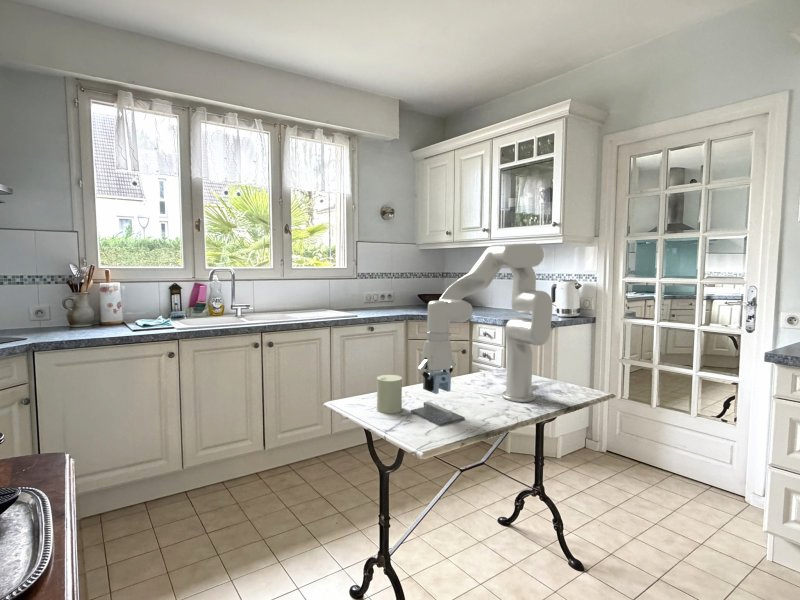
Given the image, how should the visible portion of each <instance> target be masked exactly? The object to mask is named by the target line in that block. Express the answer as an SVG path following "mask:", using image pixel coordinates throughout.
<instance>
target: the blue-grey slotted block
mask: <svg viewBox="0 0 800 600" xmlns="http://www.w3.org/2000/svg"><path fill="white" fill-rule="evenodd" d="M428 374H429V373H428ZM431 379H432V391H428V390H426V389H425V378H424V377H423V376H422V385H423V386H422V388H423V390H424V391H427V392H430V393H431V394H435V395H438V394H439V391H440V390H441V391H445V392H447V393H448V392H451V390H452V389H451V387H452V384H451V383H452V382H451V381H452V380H451V379H452V373H451V374H450V373H446V372H443V371H442V370H439V371H433V374H432V377H431Z"/></svg>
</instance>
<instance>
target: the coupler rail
mask: <svg viewBox="0 0 800 600" xmlns="http://www.w3.org/2000/svg"><path fill="white" fill-rule="evenodd" d="M410 413H411V414H414V415H416V416H418V417H420V418H422V419H424V420H426V421H428V422H429V423H432V424H435V425H436V426H438V427H441V426H445V425H449V424H452V423H456V422H461V421H465V420H466V419H465V418H466V417H465V416H463V415H460V414H458V413H456V412H453V411H452V410H449V409H447V408H445V407H442V406H440V405H437V404H435V403H433V402H431V401H425V402H423V407H419V408H415V409H414V408H413V409H411V410H410Z"/></svg>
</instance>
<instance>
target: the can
mask: <svg viewBox="0 0 800 600" xmlns="http://www.w3.org/2000/svg"><path fill="white" fill-rule="evenodd" d="M402 390H403V377H402V376H400V375H398V374H381V375H378V376H377V377H376V411H377V412H380V413H383V414H395V413H399V412H401V411H402V410H403V404H402V402H403V400H402V399H403V393H402V392H403V391H402Z"/></svg>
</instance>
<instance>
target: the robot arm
mask: <svg viewBox="0 0 800 600" xmlns="http://www.w3.org/2000/svg"><path fill="white" fill-rule="evenodd" d="M544 258H545V253H544V249H543V247H542V246H541V245H540V244H538V243H535V242H532V243H529V242H528V243H509V244H508V243H507V244H491V245H489V246H488V247H487V248H486V249H485V250H484V251H483V252H482V254H481V256H480V257H479V258H478V259H477V261H476V262H475V264H473V266H472V267H471V269H470V270H469V272H467V273H466V274H464V275H463V276H462V277H460V278H459V279H457V280H455V282H453V283H452V284H451V285H449V286H448V287H447V288H446V289H445V290H444V292H443V294H442V295H441V296H440V297H439V299H438V300H430V301H429V302H428V303H427V320H426V321H427V322H426V323H427V327H426V340H425V341H424V342H423V348H422V353H421V354H422V355H421V363H420V365H419V366H418V368H417V371H418V373H420V374H421V376H422V378H423V377H424V378H425V389H426V390H425V391H427V390H428V391H427V392H429V391H432V379H431V377H432V374H433V371H439V370H440V371H443V372H446V373H450V374H451V375H452V372H453V370H454V368H455V367H456V366H457V364H456V362H455V361H454V360H453V353H452V352H453V351H452V343H451V340H450V337H452V334H451V332H450V324H451V323H450V322H457V323H464V322H467V321H468V320H470V319H471V317H472V316H473V312H474V310H473V309H474V308H473V306H472V304H471V303H470V302H468V301H466V300H464V298H466V297H468V296H469V295H471V294H475V293H478V292H480V291H483V290H485V289H487V288H488V287H490V284H491V283H492V282H493V280H494V279H495V277H496V276H497V274H498V273H499V272H500V270H501V269H509V270H510V271H511V274H512V293H511V308H512V311H514V312H515V313H517V314H519V315H520V314H521V315H526V316H531V318H528V317H520V316H515V317H512V318H509V320H508V321H507V322H506V324H505V328H504V332H505V339H506V348H507V349H506V351H507V354H506V356H507V357H506V387H505V389H506V390H504V391H503V392H502V393H501V395H502V398H503V399H505V400H508V401H512V402H517V403H527V402H528V403H529V402H533V401H534V400H536V395H535V394H534V393H533V392H534V391H538V390H539V385H537V384H535V385H532V382H533V381H532V380H533V350H532V347H531V345H533V346H537V347H539V346H544V345H545V344H546V343H547V342H549V338H550V335H551V329H552V327H551V326H552V319H553V318H552V316H553V305H554V304H553V299H552V297H551V295H550V294H549V293H548V292H546V291H545V290H544V291H543V290H536V289H537V284H536V283H537V276H536V271H535V270H534V268H533V267H538V266H539V265H540V264H541V263H542V262H543V259H544ZM428 373H429V374H428Z"/></svg>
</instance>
